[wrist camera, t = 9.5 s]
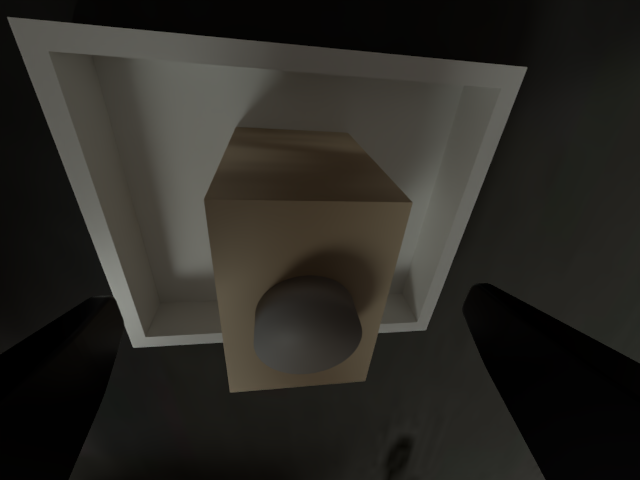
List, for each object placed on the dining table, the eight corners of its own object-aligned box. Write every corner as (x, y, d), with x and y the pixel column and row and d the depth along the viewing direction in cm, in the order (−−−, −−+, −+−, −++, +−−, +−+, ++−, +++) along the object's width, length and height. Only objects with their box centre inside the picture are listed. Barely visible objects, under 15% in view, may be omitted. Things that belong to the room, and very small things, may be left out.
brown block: (244, 265, 14) (226, 421, 8) (235, 126, 10) (194, 220, 5) (331, 263, 14) (372, 407, 8) (347, 132, 11) (431, 221, 5)
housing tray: (152, 305, 15) (133, 347, 13) (69, 24, 9) (6, 16, 7) (406, 295, 17) (425, 329, 15) (477, 64, 11) (527, 67, 9)
